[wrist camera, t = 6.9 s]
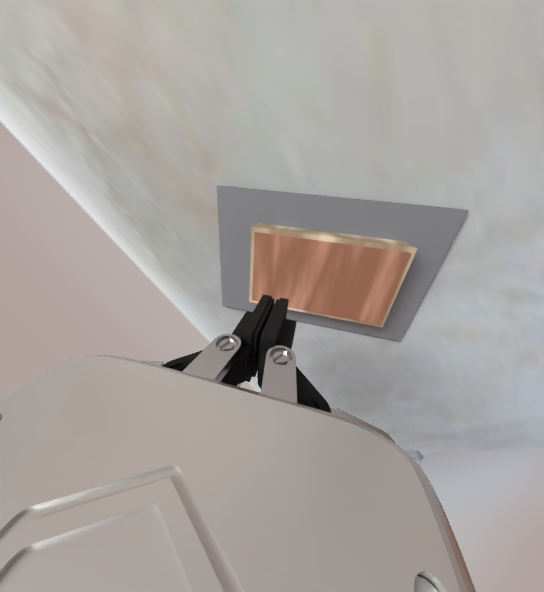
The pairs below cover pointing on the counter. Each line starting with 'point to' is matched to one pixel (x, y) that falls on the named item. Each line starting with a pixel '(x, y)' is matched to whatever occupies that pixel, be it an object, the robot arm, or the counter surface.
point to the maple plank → (328, 272)
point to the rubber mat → (339, 219)
